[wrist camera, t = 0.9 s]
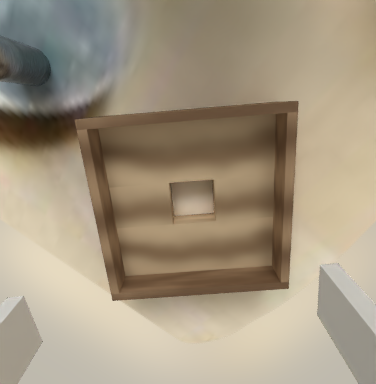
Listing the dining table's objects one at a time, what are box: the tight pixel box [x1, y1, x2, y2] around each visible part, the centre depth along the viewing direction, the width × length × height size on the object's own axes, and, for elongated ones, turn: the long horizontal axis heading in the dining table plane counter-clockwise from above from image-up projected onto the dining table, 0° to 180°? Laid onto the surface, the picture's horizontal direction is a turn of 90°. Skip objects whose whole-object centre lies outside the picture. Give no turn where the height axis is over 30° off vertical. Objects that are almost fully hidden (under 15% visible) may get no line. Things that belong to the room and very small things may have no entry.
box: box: [75, 101, 298, 301], centre depth 32 cm, size 22×22×6 cm
